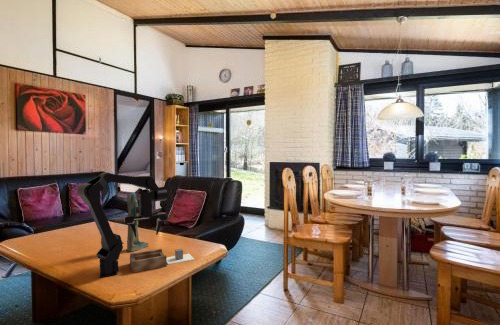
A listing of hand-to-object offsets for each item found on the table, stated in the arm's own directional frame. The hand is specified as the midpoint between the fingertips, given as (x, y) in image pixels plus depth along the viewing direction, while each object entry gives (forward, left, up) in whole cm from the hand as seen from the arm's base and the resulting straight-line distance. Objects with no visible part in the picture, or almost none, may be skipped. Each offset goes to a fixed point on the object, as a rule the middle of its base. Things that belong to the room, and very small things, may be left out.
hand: (146, 236), depth 133 cm
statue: (-2, +23, -12) cm, 26 cm away
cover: (+14, -5, -12) cm, 19 cm away
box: (0, -5, -12) cm, 13 cm away
